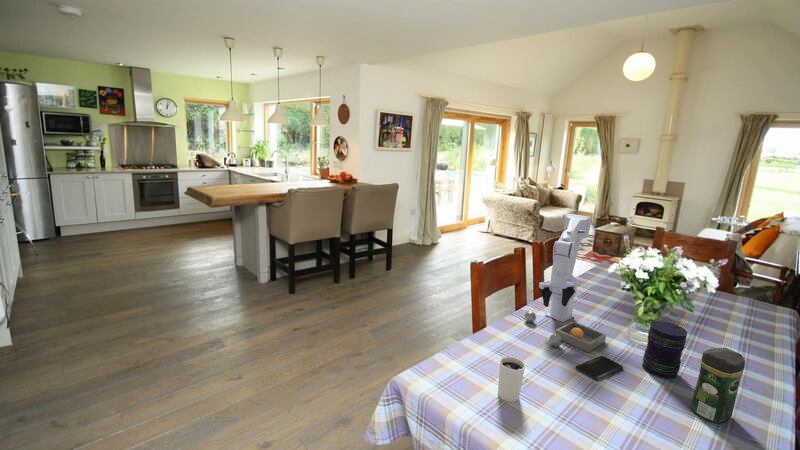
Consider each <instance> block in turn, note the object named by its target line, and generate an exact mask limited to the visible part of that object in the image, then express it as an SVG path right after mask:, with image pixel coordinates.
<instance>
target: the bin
mask: <svg viewBox="0 0 800 450" xmlns="http://www.w3.org/2000/svg"><path fill="white" fill-rule="evenodd" d="M573 328H580V329H581V330H582V331H583V334H584V335H583V338H582V339H579V338H576V337H574V336H572V335H570V332H571V330H572V329H573ZM554 334H558V335H559V336H561V338H562V343H563V342H564V343H566V344H568V345H570V346H572V347H574V348H576V349H579V350H581V351H583V352H585V353H587V354H589V353H591V352H593V351H594V350H596V349H597V348H599V347H600V346H602V345H603V344H605V343H606V340H607V334H606V333H603V332H601V331H598V330H595V329H594V328H591V327H589V326H585V325H583V324H582V323H579V322H576V321H574V320H573V321H571V322H569V323H566V324H565V325H563V326H561V327H559V328H557V329H555V333H554Z"/></svg>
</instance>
